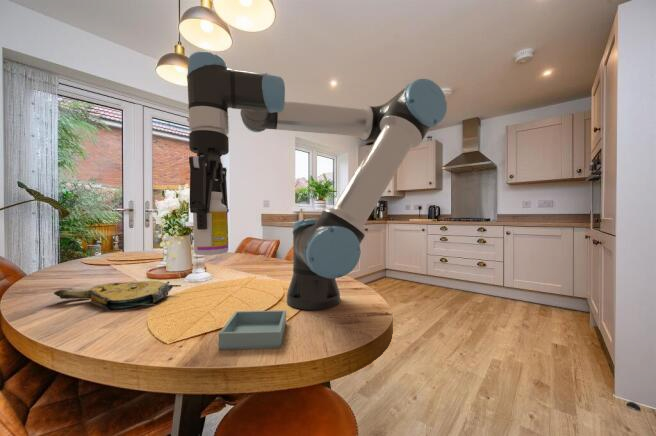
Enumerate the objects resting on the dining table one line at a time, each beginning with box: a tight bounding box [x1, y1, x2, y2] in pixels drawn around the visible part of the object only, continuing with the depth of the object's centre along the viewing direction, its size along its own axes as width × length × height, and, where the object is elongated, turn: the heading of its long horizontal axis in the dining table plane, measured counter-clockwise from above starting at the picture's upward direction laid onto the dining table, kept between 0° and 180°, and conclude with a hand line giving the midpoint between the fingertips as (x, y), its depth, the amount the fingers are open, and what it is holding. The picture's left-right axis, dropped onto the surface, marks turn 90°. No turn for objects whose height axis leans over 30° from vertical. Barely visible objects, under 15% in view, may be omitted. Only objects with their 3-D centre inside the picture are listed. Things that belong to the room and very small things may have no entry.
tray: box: [218, 310, 287, 351], centre depth 55 cm, size 11×11×3 cm
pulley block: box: [53, 280, 182, 312], centre depth 75 cm, size 14×6×30 cm
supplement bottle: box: [192, 192, 229, 256], centre depth 56 cm, size 7×7×13 cm
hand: (212, 243), depth 56 cm, fingers closed on supplement bottle, 7 cm apart
